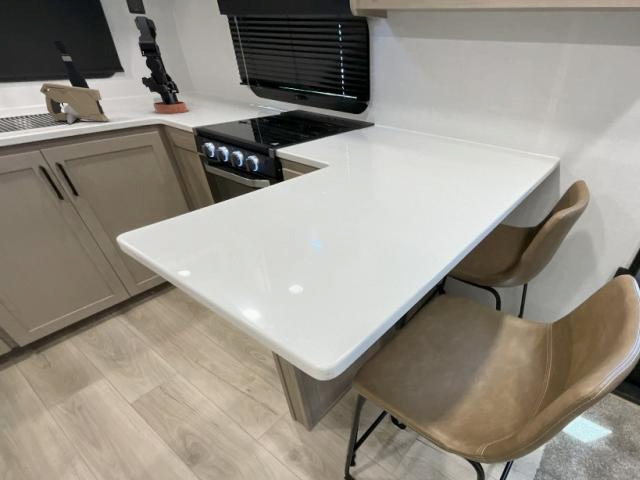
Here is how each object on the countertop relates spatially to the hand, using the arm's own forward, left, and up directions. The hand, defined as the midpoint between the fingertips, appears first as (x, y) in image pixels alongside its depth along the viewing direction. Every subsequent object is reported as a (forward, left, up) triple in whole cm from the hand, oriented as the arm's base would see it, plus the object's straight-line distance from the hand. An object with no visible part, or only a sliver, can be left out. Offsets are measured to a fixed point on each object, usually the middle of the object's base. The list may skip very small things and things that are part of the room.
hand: (169, 105), depth 179 cm
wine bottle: (0, -37, -3) cm, 37 cm away
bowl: (0, 0, -3) cm, 3 cm away
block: (0, 0, -2) cm, 2 cm away
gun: (+24, -32, -3) cm, 41 cm away
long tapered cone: (+22, -36, -3) cm, 42 cm away
